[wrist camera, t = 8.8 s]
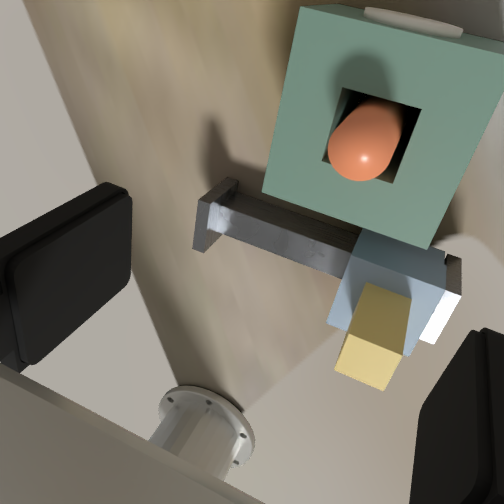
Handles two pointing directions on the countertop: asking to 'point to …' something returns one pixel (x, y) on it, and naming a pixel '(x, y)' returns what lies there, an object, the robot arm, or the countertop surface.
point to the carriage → (384, 304)
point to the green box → (391, 88)
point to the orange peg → (367, 138)
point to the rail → (298, 241)
